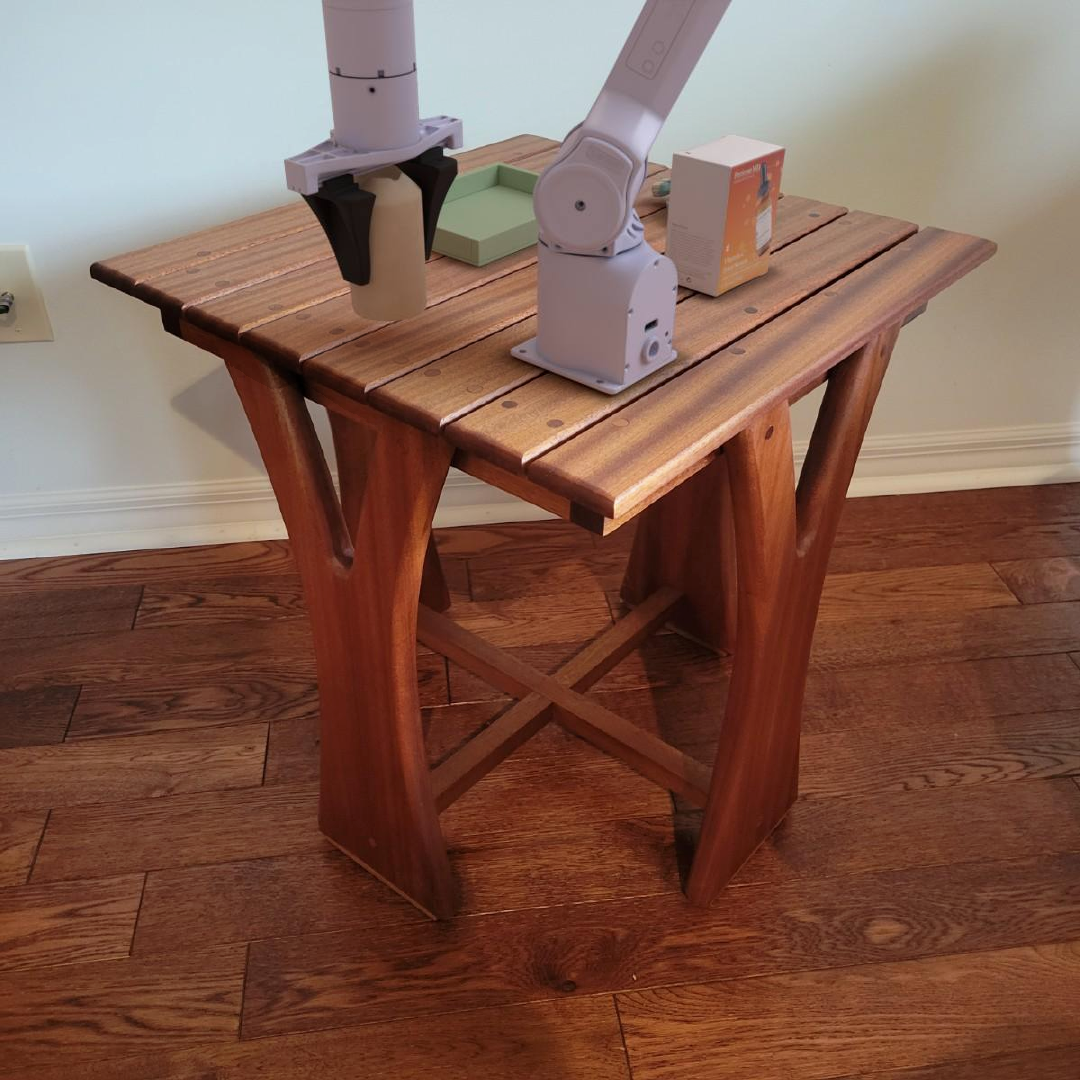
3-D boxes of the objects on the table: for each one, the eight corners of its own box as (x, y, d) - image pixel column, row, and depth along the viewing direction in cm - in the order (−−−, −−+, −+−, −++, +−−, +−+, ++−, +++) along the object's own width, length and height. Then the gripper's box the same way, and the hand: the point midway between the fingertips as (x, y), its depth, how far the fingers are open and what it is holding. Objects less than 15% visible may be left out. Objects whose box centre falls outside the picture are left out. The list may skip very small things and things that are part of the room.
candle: (415, 326, 78) (406, 185, 72) (341, 318, 79) (327, 179, 73) (436, 295, 82) (429, 161, 77) (366, 289, 83) (354, 155, 77)
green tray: (604, 215, 104) (605, 190, 103) (478, 267, 93) (478, 240, 92) (498, 184, 111) (497, 161, 110) (369, 229, 100) (367, 204, 99)
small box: (715, 299, 88) (730, 167, 82) (660, 280, 91) (670, 152, 85) (770, 272, 93) (788, 145, 87) (715, 255, 96) (729, 131, 90)
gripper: (409, 42, 78) (420, 229, 86) (243, 78, 69) (272, 284, 77) (483, 57, 74) (486, 251, 82) (317, 97, 65) (339, 311, 73)
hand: (387, 269), depth 79 cm, fingers closed on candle, 5 cm apart
